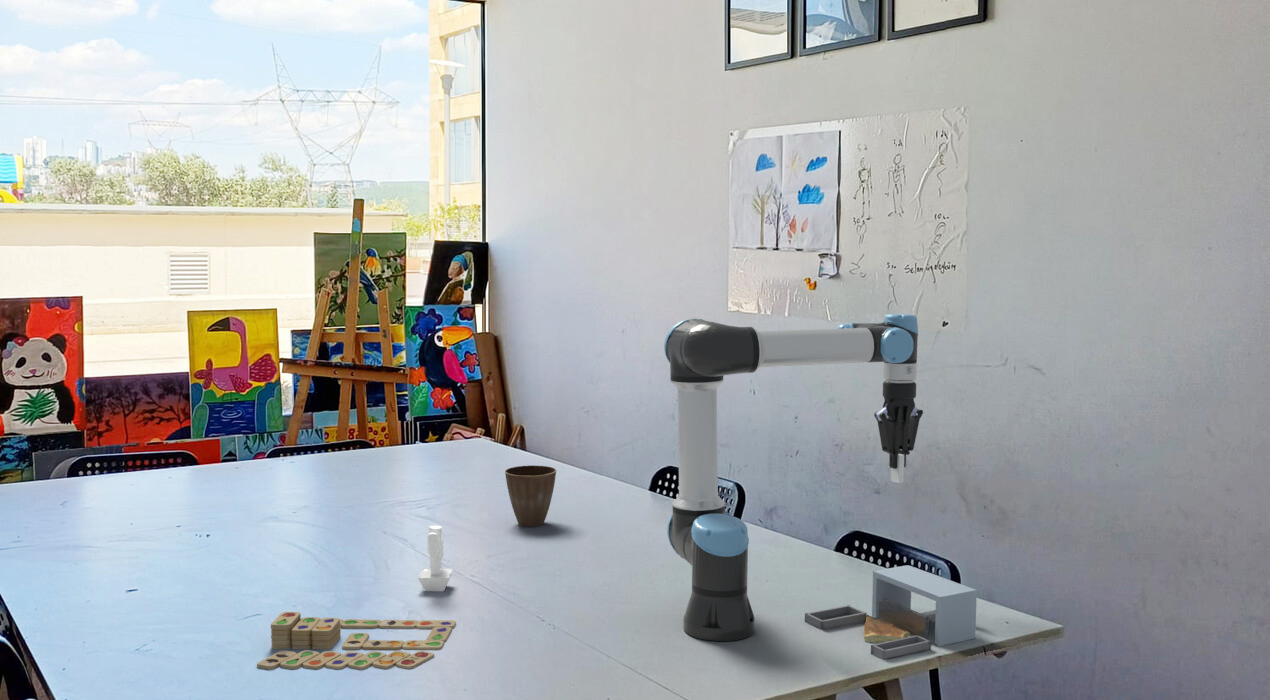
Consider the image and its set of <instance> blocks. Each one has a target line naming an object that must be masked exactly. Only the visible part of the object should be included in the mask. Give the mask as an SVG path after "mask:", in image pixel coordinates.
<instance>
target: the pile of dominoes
mask: <svg viewBox="0 0 1270 700" xmlns="http://www.w3.org/2000/svg"><path fill="white" fill-rule="evenodd" d="M456 625H457V622H456V620H453V619H450V620H448V619H446V620H445V619H439V620H438V619H437V620H436V619H421V620H416V619H382V620H380V619H366V618H365V619H359V618H354V619H353V618H352V619H351V618H346V619H345V620H343V619H342V618H339V617H322V618H320V617H315V616H314V617H313V616H312V617H310V616H309V617H308V616H306V617H302V615H301V612H299V611H284V612H280V614H279V615H278V616H277V617H276V618H275V619H274V620H273V621H272V622H271V624H270V629H271V630H270V633H271V634H270V639H271V640H270V641H271V649H272V650H273V649H274V650H278V649H279V651H277V652H276V653H273V654H272V655H270V656H268V657H266V658H264V659H262V660H260V661H259V662H258V661H257V663H256V668H258V669H261V670H262V669H263V670H269V671H270V670H275V669H277V668H279V667H280V668H283V669H288V670H298V669H300V668H304V669H305V668H306V669H309V670H321V669H322V668H327V669H333V670H343V669H345V668H349V669H354V670H360V671H362V670H367V669H368V668H369V667H373V668H378V669H382V670H389V669H392V668H393V667H397V668H401V669H405V670H413V669H414V668H417V667H419V666H420V665H423V664H424V663H426V662H428V661H430V660H431V659H434V657H435V653H434V652H429V651H431V650H432V651H438V650H442V649H443V647H444V645H445V642H447V640H448V638H449V637H450V635H451V633H452V631H453V629H454V628H455V627H456ZM341 629H350V630H351V629H355V630H356V629H357V630H358V629H360V630H361V629H362V630H363V629H364V630H365V629H367V630H368V629H370V630H373V629H374V630H375V629H399V630H400V629H402V630H404V629H405V630H408V629H409V630H411V629H418V630H431V631H430V633H429V634H428V636H427V638H426V640H424V639H423V640H421V639H408V640H405V641H403V640H396V639H395V640H390V639H389V640H387V639H385V640H382V639H377V640H375V639H369V638H370V634H369V633H367V632H353V633H350V634H349V635H348V637H347V638H346V640H345V641H344V643H343V644H342V645H341V646H342V647H341V649H342V650H344V651H346V652H344V653H341V652H339V651H334V650H333V651H332V650H331V649H333V647H334V646H335V644H336V643H337V642H338V641H339V640H340V638H341V631H342V630H341ZM290 649H292V650H301V651H300V652H298V653H297V652H295V651H291V650H290ZM309 649H313V650H309ZM315 650H325V651H323V652H321V653H320V652H319V651H315ZM347 650H348V651H347ZM353 650H355V651H353ZM356 650H364V651H368V652H367V653H364V652H360V651H356ZM370 650H371V651H370ZM377 650H378V651H377ZM403 650H405V651H403ZM407 650H408V651H409V650H410V651H412V650H414V651H416V650H417V651H416V652H414V653H412V654H411V653H410V652H407ZM427 650H428V651H427ZM382 651H392V652H390V653H388V654H387V653H385V652H382Z"/></svg>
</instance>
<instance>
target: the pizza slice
mask: <svg viewBox="0 0 1270 700" xmlns="http://www.w3.org/2000/svg"><path fill="white" fill-rule="evenodd" d="M863 626H864V627H863V639H864V642H865V643H866V642H867V643H876V644H878V643H883V642H887V641H892V640H897V639H901V638H906V637H910V636H911V635H910V632H908V631H906V630H904V629H902V628H899V627H897V626H895V625H892V624H890V623H888V622H885V621H882V620H879V618H874V617H872V615H869V614H867V617H866V621H865V623H864V625H863Z"/></svg>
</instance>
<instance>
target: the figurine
mask: <svg viewBox="0 0 1270 700" xmlns="http://www.w3.org/2000/svg"><path fill="white" fill-rule="evenodd" d="M442 534H443V526H441V525H430V526H428V534H427V553H428V555H429V567H430V568H423V569H422V570H421V572H420V573H419V576H418V577H417V579H418V581H419V583H420V585H421V587H422V588H423V590H424V592H445V590H446V588H447V586H448V584H449V580H450V578H451V575H452V573H453V572H454V571H453V570H454V568H442V558H443V557H444V540H443V538H442Z"/></svg>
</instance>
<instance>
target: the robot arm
mask: <svg viewBox="0 0 1270 700" xmlns="http://www.w3.org/2000/svg"><path fill="white" fill-rule="evenodd" d="M918 327H919V325H918V318H917V317H916V315H914V314H911V313H910V314H909V313H887V314H885V316H884V319H883V322H879V323H872V322H871V323H867V322H865V323H861V322H859V323H855V322H850V323H841V324H839V325H838V326H837V327H836V328H823V329H822V328H820V329H819V328H818V329H795V330H791V329H790V330H788V329H787V330H767V331H766V330H765V331H764V330H762V331H761V330H760V331H758V330H757V329H756V328H755V327H754V326H733V325H727V324H722V323H718V322H715V321H709V320H708V321H707V320H706V319H705V320H704V319H703V318H690V319H683V320H680V321H679V322H677V323H676V324H674V325H673V326H672V327H671V328H670V329H669V330H668V332H667V334H666V336H665V339H664V343H663V346H664V347H663V348H664V349H663V350H664V354H665V357H666V359H667V361H668V362H669V366H670V367H669V370H670V371H669V372H670V383H672V384H673V386H674V387H675V388H676V389H677V433H678V435H677V436H678V437H677V439H678V440H677V441H678V445H677V447H678V496H677V497H676V498H675V499H674V500H673V502H672V504H671V505H672V515H671V516H670V517H669V520H668V523H667V527H666V533H667V538H668V541H669V544H670V546H671V547H672V549H673V551H674V552H675V553H676V555H678V556H680V558H682V559H684V561H687V562H688V563H689V564H690V566H691V595H690V597H689V600H688V603H687V607H686V609H685V613H684V615H683V619H682V620H683V621H682V623H683V625H682V627H683V631H684V632H685V633H686V634H687V635H689V636H690V637H691V636H692V637H694V638H697V639H700V640H704V641H705V640H706V641H715V642H729V641H730V642H731V641H737V640H743V639H746V638H749V637H751V636H752V635H753V634H754V633H755V632H756V618H755V615H754V612H753V609H752V605H751V602H750V599H749V596H748V567H749V566H748V563H749V562H748V560H749V558H748V557H749V556H748V555H749V544H750V543H749V542H750V538H749V535H748V532H749V531H748V527H747V525H746V523H745V522H744V521H743V520H741V518H739V517H736V516H733V515H732V516H731V515H729V514H726V502H725V501H724V500H723V499H722V498H721V497H720V496H719V490H718V489H719V488H718V487H719V486H718V485H719V484H718V482H719V480H718V479H719V478H718V476H719V475H718V470H719V469H718V408H717V407H718V403H717V402H718V400H717V399H718V398H717V397H718V395H717V392H718V391H717V389H718V387H720V385H721V384H722V383H723V382H724V376H730V375H739V374H740V375H741V374H750V373H751V374H753V373H755V372H757V371H758V370H759V369H760V368H774V367H792V366H793V367H795V366H798V367H799V366H813V365H817V366H818V365H819V366H820V365H837V364H838V365H839V364H856V363H857V364H860V363H882V364H883V365H882V366H883V367H882V379H883V380H885V381H883V382H882V397H883V399H884V402H883V404H882V408H881V409H880V410H879V411H875V412H874V417H875V419H876V422H877V427H878V432H879V439H880V446H881V450H882V452H885V453H886V454H889V460H888V461H889V463H888V465H889V468H890V482H893V483H897V484H903V483H904V481H905V480H904V478H905V476H904V475H905V468H906V466H907V455H910V453H911V451H914V448H915V443H916V438H917V435H918V434H917V433H918V430H919V425H920V424H919V423H920V421H921V420H920V419H921V418H922V416H923V414H924V410H923V409H919V408H917V407H916V403H915V399H916V397H917V383H916V382H915V381H916V380H917V375H918V374H917V367H918V363H917V362H918V361H917V360H918V336H919V328H918Z"/></svg>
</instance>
